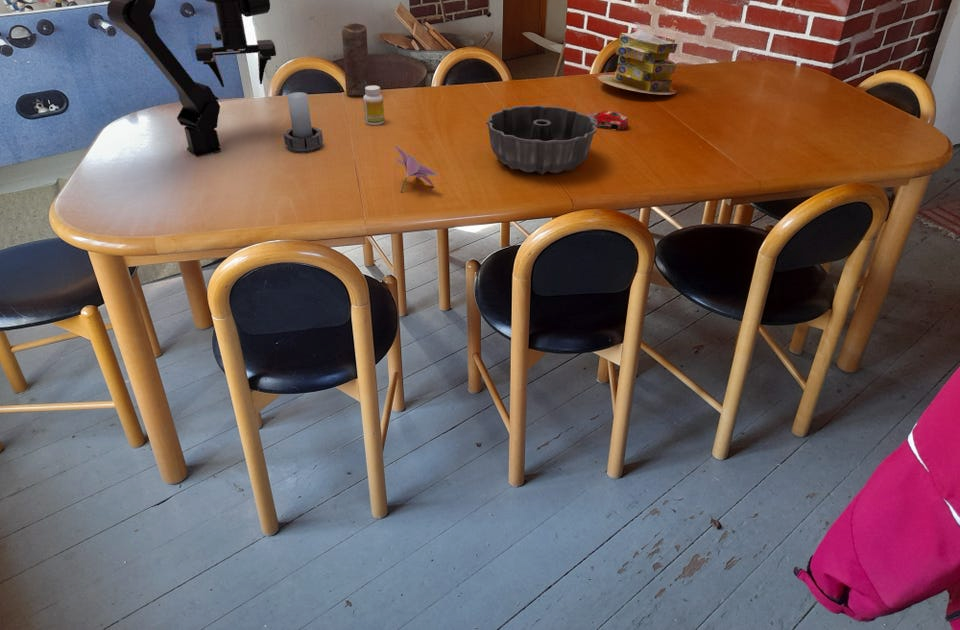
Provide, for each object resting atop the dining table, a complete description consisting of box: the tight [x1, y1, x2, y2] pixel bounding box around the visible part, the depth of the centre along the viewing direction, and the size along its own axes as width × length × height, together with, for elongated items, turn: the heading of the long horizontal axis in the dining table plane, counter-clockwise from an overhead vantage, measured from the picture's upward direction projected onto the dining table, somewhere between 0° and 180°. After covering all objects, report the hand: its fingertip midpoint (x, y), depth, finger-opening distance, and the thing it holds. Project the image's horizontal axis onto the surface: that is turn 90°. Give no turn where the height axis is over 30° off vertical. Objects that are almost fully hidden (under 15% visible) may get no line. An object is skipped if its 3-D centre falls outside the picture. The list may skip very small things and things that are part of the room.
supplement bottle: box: [362, 85, 385, 126], centre depth 191 cm, size 5×5×10 cm
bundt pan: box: [485, 104, 598, 175], centre depth 169 cm, size 26×26×10 cm
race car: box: [584, 110, 629, 131], centre depth 192 cm, size 13×5×4 cm, turn 66°
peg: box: [286, 91, 313, 138], centre depth 174 cm, size 5×5×12 cm
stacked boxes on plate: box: [597, 28, 679, 95], centre depth 216 cm, size 25×25×17 cm
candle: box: [341, 22, 371, 97], centre depth 208 cm, size 8×7×20 cm
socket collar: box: [282, 126, 324, 154], centre depth 177 cm, size 9×9×4 cm
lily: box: [392, 143, 438, 193], centre depth 156 cm, size 12×12×10 cm
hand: (242, 85), depth 177 cm, fingers open, 9 cm apart
